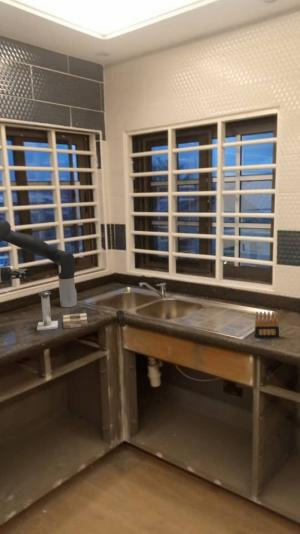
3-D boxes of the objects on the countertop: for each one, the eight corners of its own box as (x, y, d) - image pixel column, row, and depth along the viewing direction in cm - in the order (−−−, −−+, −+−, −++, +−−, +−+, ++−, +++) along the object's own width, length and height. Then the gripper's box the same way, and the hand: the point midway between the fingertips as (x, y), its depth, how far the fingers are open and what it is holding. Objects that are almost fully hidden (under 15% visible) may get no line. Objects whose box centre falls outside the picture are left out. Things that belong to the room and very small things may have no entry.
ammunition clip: (254, 337, 185) (255, 312, 183) (254, 336, 186) (254, 310, 184) (279, 337, 184) (279, 311, 182) (278, 336, 186) (278, 310, 183)
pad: (38, 324, 216) (38, 322, 215) (58, 322, 217) (57, 320, 217) (37, 330, 206) (36, 328, 206) (57, 328, 208) (57, 326, 208)
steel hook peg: (47, 322, 216) (45, 290, 213) (56, 323, 212) (53, 292, 209) (39, 325, 211) (36, 293, 208) (47, 327, 207) (44, 294, 204)
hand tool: (116, 317, 223) (116, 309, 223) (124, 316, 224) (123, 308, 223) (118, 328, 205) (117, 319, 204) (126, 328, 205) (125, 319, 205)
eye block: (63, 321, 219) (63, 315, 218) (86, 319, 221) (86, 313, 220) (63, 328, 207) (63, 321, 207) (87, 326, 210) (87, 319, 209)
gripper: (-3, 270, 199) (32, 267, 202) (2, 265, 212) (34, 262, 215) (-1, 285, 200) (33, 282, 203) (3, 279, 214) (36, 276, 217)
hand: (34, 272), depth 209 cm, fingers open, 8 cm apart
